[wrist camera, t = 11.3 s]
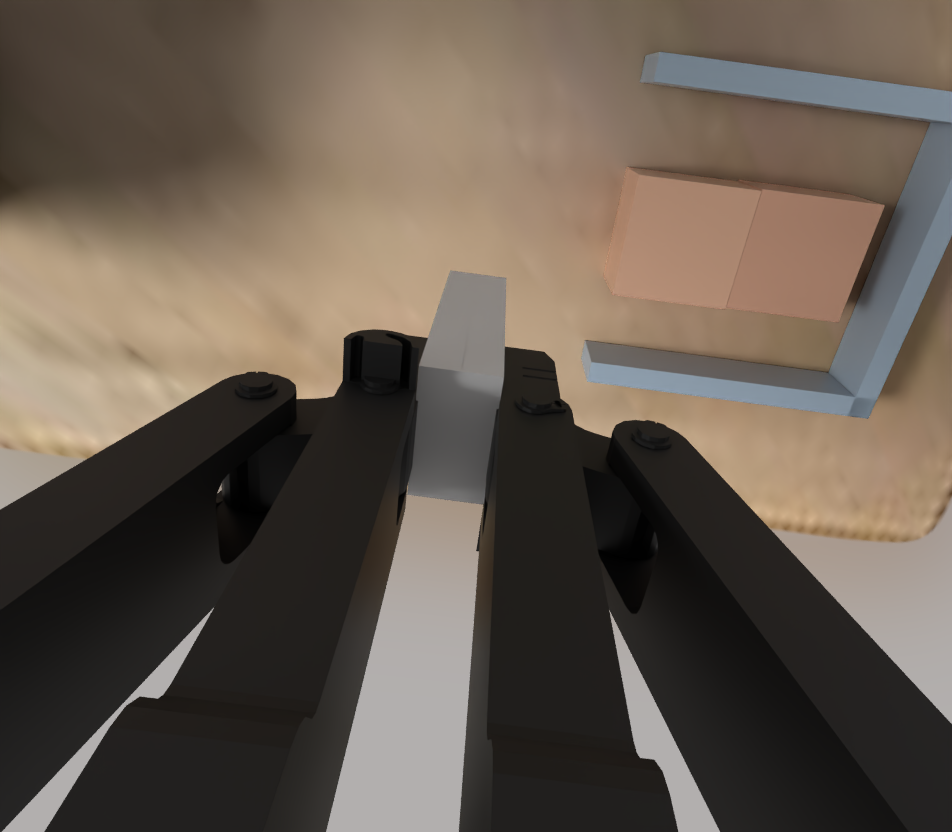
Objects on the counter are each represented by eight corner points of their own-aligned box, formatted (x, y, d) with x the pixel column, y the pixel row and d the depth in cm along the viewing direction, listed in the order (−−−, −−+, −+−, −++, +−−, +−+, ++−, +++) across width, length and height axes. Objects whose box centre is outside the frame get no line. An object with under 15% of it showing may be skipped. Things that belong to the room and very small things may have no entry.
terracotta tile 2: (705, 287, 37) (726, 307, 34) (736, 179, 34) (762, 189, 31) (807, 300, 37) (838, 322, 34) (846, 193, 34) (884, 205, 31)
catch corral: (581, 358, 39) (587, 381, 36) (645, 55, 32) (660, 51, 29) (840, 392, 39) (868, 418, 36) (964, 99, 32) (1013, 100, 29)
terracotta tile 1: (603, 275, 37) (612, 294, 34) (626, 166, 34) (639, 174, 31) (704, 288, 37) (725, 309, 34) (735, 180, 34) (761, 190, 31)
